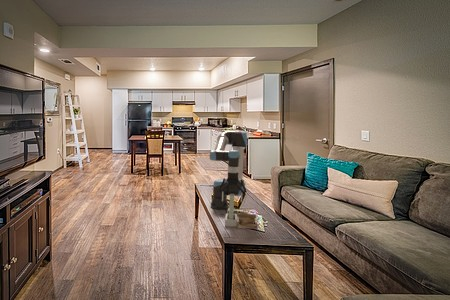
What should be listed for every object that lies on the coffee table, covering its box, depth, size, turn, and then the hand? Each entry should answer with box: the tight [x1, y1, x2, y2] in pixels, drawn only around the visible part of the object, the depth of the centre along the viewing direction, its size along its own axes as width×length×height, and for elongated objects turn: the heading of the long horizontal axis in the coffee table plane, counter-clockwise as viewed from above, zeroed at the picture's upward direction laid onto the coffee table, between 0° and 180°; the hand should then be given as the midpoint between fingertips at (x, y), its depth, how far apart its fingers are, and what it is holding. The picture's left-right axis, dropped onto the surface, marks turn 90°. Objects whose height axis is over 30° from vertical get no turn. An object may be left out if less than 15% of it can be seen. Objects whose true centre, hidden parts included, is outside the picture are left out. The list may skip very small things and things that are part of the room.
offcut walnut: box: [239, 220, 253, 225], centre depth 237 cm, size 4×9×2 cm, turn 116°
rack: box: [236, 212, 258, 229], centre depth 240 cm, size 14×14×6 cm
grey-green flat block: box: [228, 194, 235, 220], centre depth 240 cm, size 3×10×20 cm, turn 178°
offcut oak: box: [241, 218, 251, 222], centre depth 236 cm, size 4×6×2 cm, turn 125°
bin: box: [224, 213, 237, 228], centre depth 241 cm, size 14×8×5 cm, turn 177°
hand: (231, 201), depth 240 cm, fingers open, 13 cm apart
